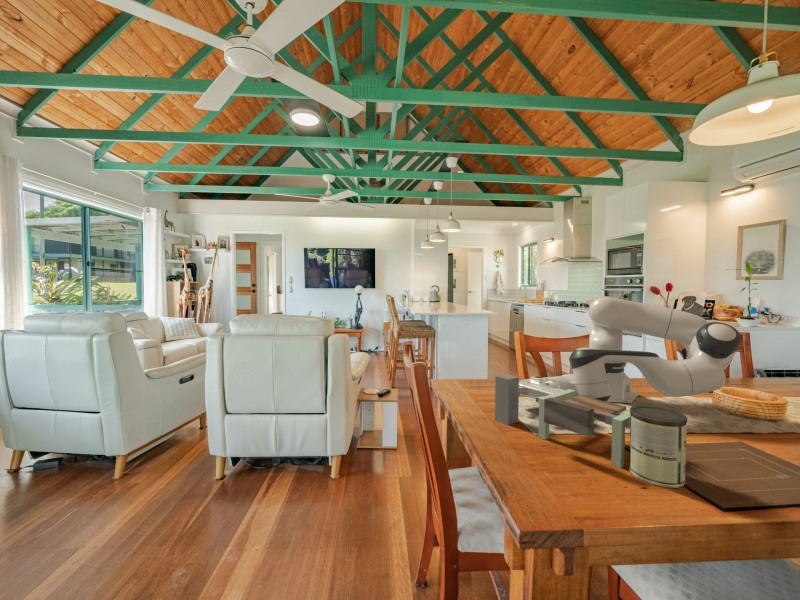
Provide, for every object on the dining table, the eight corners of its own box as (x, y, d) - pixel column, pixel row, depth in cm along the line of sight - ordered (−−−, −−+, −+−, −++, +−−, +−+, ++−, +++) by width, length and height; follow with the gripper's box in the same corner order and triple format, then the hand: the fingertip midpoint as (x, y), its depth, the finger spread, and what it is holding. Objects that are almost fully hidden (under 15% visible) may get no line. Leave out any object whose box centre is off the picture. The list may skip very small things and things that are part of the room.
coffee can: (622, 461, 85) (623, 403, 84) (673, 468, 82) (675, 407, 81) (636, 483, 75) (638, 417, 75) (695, 492, 72) (697, 423, 71)
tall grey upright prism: (504, 417, 114) (505, 374, 114) (518, 421, 110) (518, 377, 110) (494, 420, 111) (495, 376, 111) (508, 425, 107) (508, 379, 107)
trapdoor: (580, 407, 103) (580, 386, 103) (626, 419, 93) (626, 397, 93) (541, 421, 91) (542, 398, 91) (589, 437, 82) (590, 411, 81)
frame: (568, 424, 108) (569, 389, 108) (647, 450, 91) (648, 407, 91) (538, 437, 98) (539, 398, 98) (620, 468, 81) (621, 421, 81)
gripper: (582, 408, 111) (553, 415, 104) (530, 392, 129) (502, 398, 122) (582, 388, 111) (553, 394, 104) (530, 375, 128) (502, 380, 122)
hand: (525, 396), depth 113 cm, fingers open, 8 cm apart
